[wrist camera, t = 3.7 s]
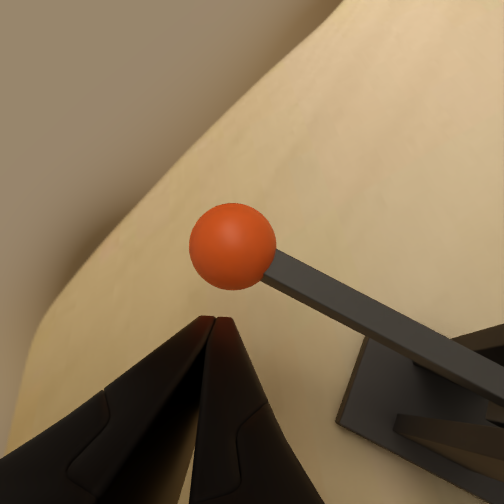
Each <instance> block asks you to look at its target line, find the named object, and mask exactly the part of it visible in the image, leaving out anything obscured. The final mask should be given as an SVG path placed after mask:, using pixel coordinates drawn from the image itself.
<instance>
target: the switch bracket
mask: <svg viewBox="0 0 504 504" xmlns="http://www.w3.org/2000/svg"><path fill="white" fill-rule="evenodd" d="M451 340H453V341H455V342H457V343H459V344H460V345H462V346H464V347H466V348H468V349H470V350H472V351H474V352H476V353H478V354H480V355H482V356H484V357H485V358H487V359H489V360H491V361H493V362H495V363H497V364H499V365H501V366H503V367H504V324H501V325H497V326H494V327H490V328H487V329H483V330H480V331H476V332H473V333H469V334H466V335H462V336H459V337H455V338H452V339H451ZM488 403H489V400H487V399H485V398H483V397H482V396H480V395H478V394H476V393H474V392H472V391H470V390H468V389H466V388H464V387H462V386H460V385H459V384H457V383H455V382H453V381H451V380H449V379H447V378H445V377H443V376H441V375H439V374H438V373H436V372H434V371H432V370H430V369H428V368H426V367H424V366H422V365H420V364H418V363H416V362H415V361H413V360H411V359H409V358H407V357H405V356H403V355H401V354H399V353H397V352H395V351H394V350H392V349H390V348H388V347H386V346H384V345H382V344H380V343H378V342H376V341H374V340H372V339H371V338H369V337H367V336H365V338H364V341H363V344H362V347H361V350H360V353H359V355H358V358H357V361H356V364H355V367H354V369H353V372H352V375H351V378H350V381H349V383H348V386H347V389H346V392H345V395H344V398H343V400H342V403H341V406H340V409H339V412H338V414H337V417H336V420H335V422H336V423H337V424H339V425H341V426H342V427H344V428H346V429H348V430H350V431H352V432H354V433H356V434H358V435H360V436H362V437H363V438H365V439H367V440H369V441H371V442H373V443H375V444H377V445H379V446H381V447H383V448H385V449H386V450H388V451H390V452H392V453H394V454H396V455H398V456H400V457H402V458H404V459H406V460H407V461H409V462H411V463H413V464H415V465H417V466H419V467H421V468H423V469H425V470H427V471H428V472H430V473H432V474H434V475H436V476H438V477H440V478H442V479H444V480H446V481H448V482H449V483H451V484H453V485H455V486H457V487H459V488H461V489H463V490H465V491H467V492H469V493H470V494H472V495H474V496H476V497H478V498H480V499H482V500H484V501H486V502H488V503H490V504H504V428H500V427H498V426H496V425H494V424H492V423H490V422H489V421H487V420H486V413H487V408H488Z"/></svg>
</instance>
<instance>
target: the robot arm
mask: <svg viewBox="0 0 504 504" xmlns="http://www.w3.org/2000/svg"><path fill="white" fill-rule="evenodd" d="M194 447H195V451H194V460H193V470H192V479H191V488H190V497H189V504H325V503H324V502H323V500H322V499H321V497H320V495H319V494H318V492H317V490H316V489H315V487H314V485H313V484H312V482H311V481H310V479H309V477H308V476H307V474H306V472H305V471H304V469H303V467H302V466H301V464H300V463H299V461H298V459H297V458H296V456H295V454H294V452H293V451H292V449H291V447H290V445H289V444H288V442H287V440H286V438H285V437H284V434H283V432H282V430H281V428H280V426H279V424H278V422H277V420H276V418H275V415H274V413H273V411H272V409H271V406H270V404H269V403H268V400H267V397H266V395H265V393H264V390H263V388H262V386H261V383H260V381H259V379H258V376H257V374H256V372H255V369H254V367H253V365H252V362H251V360H250V358H249V355H248V353H247V351H246V348H245V346H244V344H243V341H242V339H241V337H240V335H239V332H238V330H237V328H236V325H235V323H234V321H233V319H232V318H231V317H217V318H215V317H214V316H199V317H198V318H196V319H195V320H194V321H192V322H191V323H190V324H188V325H187V326H186V327H184V328H183V329H182V330H180V331H179V332H178V333H176V334H175V335H174V336H172V337H171V338H170V339H169V340H167V341H166V342H165V343H163V344H162V345H161V346H159V347H158V348H157V349H155V350H154V351H153V352H151V353H150V354H149V355H147V356H146V357H145V358H143V359H142V360H141V361H139V362H138V363H137V364H136V365H134V366H133V367H132V368H130V369H129V370H128V371H126V372H125V373H124V374H122V375H121V376H120V377H118V378H117V379H116V380H114V381H113V382H112V383H110V384H109V385H108V386H107V387H105V388H104V391H103V390H101V391H100V392H98V393H97V394H96V395H94V396H93V397H92V398H90V399H89V400H88V401H86V402H85V403H84V404H82V405H81V406H80V407H78V408H77V409H75V410H74V411H73V412H71V413H70V414H69V415H67V416H66V417H64V418H63V419H61V420H60V421H58V422H57V423H55V424H54V425H52V426H51V427H49V428H48V429H46V430H45V431H43V432H42V433H40V434H39V435H37V436H36V437H34V438H33V439H31V440H30V441H28V442H26V443H25V444H23V445H22V446H20V447H19V448H17V449H15V450H14V451H12V452H11V453H9V454H8V455H6V456H5V457H3V458H1V459H0V504H178V500H179V497H180V494H181V490H182V487H183V483H184V480H185V477H186V473H187V470H188V467H189V463H190V460H191V457H192V453H193V450H194Z"/></svg>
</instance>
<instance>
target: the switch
mask: <svg viewBox="0 0 504 504" xmlns="http://www.w3.org/2000/svg"><path fill="white" fill-rule="evenodd" d="M189 253H190V257H191V261H192V263H193V266H194V268H195V269H196V271H197V272H198V274H199V275H200V276H201V277H202V278H203V279H204V280H205V281H207V282H208V283H210V284H211V285H213V286H215V287H217V288H221V289H225V290H241V289H245V288H248V287H251V286H253V285H254V284H256V283H258V282H259V281H262V282H263V283H265V284H267V285H269V286H271V287H273V288H275V289H277V290H279V291H281V292H283V293H284V294H286V295H288V296H290V297H292V298H294V299H296V300H298V301H300V302H302V303H304V304H306V305H307V306H309V307H311V308H313V309H315V310H317V311H319V312H321V313H323V314H325V315H327V316H328V317H330V318H332V319H334V320H336V321H338V322H340V323H342V324H344V325H346V326H348V327H350V328H351V329H353V330H355V331H357V332H359V333H361V334H363V335H365V336H367V337H369V338H371V339H372V340H374V341H376V342H378V343H380V344H382V345H384V346H386V347H388V348H390V349H392V350H394V351H395V352H397V353H399V354H401V355H403V356H405V357H407V358H409V359H411V360H413V361H415V362H416V363H418V364H420V365H422V366H424V367H426V368H428V369H430V370H432V371H434V372H436V373H438V374H439V375H441V376H443V377H445V378H447V379H449V380H451V381H453V382H455V383H457V384H459V385H460V386H462V387H464V388H466V389H468V390H470V391H472V392H474V393H476V394H478V395H480V396H482V397H483V398H485V399H487V400H489V403H488V408H487V413H486V420H487V421H489V422H490V423H492V424H494V425H496V426H498V427H500V428H504V367H503V366H501V365H499V364H497V363H495V362H493V361H491V360H489V359H487V358H485V357H484V356H482V355H480V354H478V353H476V352H474V351H472V350H470V349H468V348H466V347H464V346H462V345H460V344H459V343H457V342H455V341H453V340H451V339H449V338H447V337H445V336H443V335H441V334H439V333H437V332H435V331H434V330H432V329H430V328H428V327H426V326H424V325H422V324H420V323H418V322H416V321H414V320H412V319H410V318H409V317H407V316H405V315H403V314H401V313H399V312H397V311H395V310H393V309H391V308H389V307H387V306H385V305H384V304H382V303H380V302H378V301H376V300H374V299H372V298H370V297H368V296H366V295H364V294H362V293H360V292H359V291H357V290H355V289H353V288H351V287H349V286H347V285H345V284H343V283H341V282H339V281H337V280H335V279H334V278H332V277H330V276H328V275H326V274H324V273H322V272H320V271H318V270H316V269H314V268H312V267H310V266H309V265H307V264H305V263H303V262H301V261H299V260H297V259H295V258H293V257H291V256H289V255H287V254H285V253H284V252H282V251H280V250H278V249H276V238H275V234H274V231H273V229H272V227H271V225H270V223H269V222H268V220H267V219H266V218H265V217H264V216H263V215H262V214H261V213H260V212H258V211H257V210H255V209H254V208H252V207H249V206H247V205H243V204H238V203H227V204H222V205H219V206H216V207H214V208H212V209H210V210H209V211H207V212H206V213H205V214H203V215H202V216H201V217H200V218H199V220H198V221H197V222H196V224H195V226H194V228H193V230H192V233H191V236H190V242H189Z"/></svg>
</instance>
